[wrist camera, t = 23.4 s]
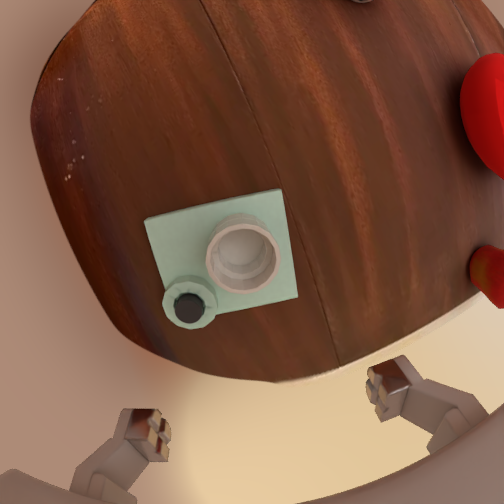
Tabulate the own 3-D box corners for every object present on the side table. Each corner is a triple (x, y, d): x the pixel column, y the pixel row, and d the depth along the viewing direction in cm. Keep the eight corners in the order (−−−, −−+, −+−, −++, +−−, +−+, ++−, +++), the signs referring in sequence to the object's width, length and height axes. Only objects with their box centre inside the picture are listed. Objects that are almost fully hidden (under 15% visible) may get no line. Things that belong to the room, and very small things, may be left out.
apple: (464, 294, 35) (509, 329, 24) (458, 256, 32) (512, 289, 21) (492, 266, 34) (536, 293, 23) (488, 227, 31) (539, 251, 20)
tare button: (181, 317, 28) (179, 325, 27) (173, 295, 27) (170, 303, 26) (206, 313, 28) (205, 321, 27) (199, 290, 28) (197, 298, 26)
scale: (176, 318, 31) (173, 332, 29) (144, 218, 27) (135, 225, 24) (295, 294, 32) (302, 307, 29) (278, 188, 27) (284, 191, 25)
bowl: (217, 277, 28) (216, 300, 24) (203, 219, 26) (197, 233, 22) (276, 264, 29) (285, 285, 24) (265, 206, 26) (273, 217, 22)
